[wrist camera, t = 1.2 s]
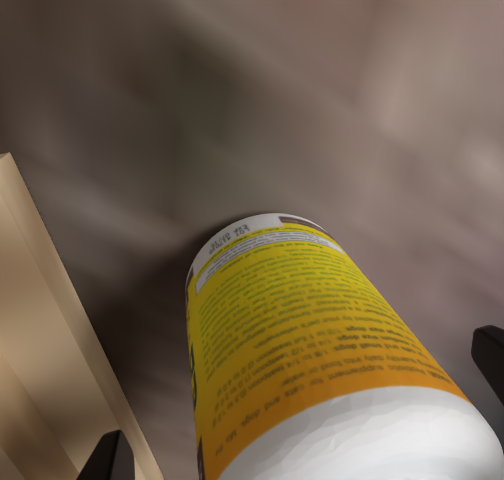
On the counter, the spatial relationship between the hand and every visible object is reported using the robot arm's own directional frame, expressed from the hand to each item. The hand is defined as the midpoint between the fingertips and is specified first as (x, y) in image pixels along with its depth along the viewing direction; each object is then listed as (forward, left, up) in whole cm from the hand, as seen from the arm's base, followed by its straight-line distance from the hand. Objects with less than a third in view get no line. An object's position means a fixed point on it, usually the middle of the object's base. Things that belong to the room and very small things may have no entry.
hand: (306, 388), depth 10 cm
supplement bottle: (0, 0, -5) cm, 5 cm away
